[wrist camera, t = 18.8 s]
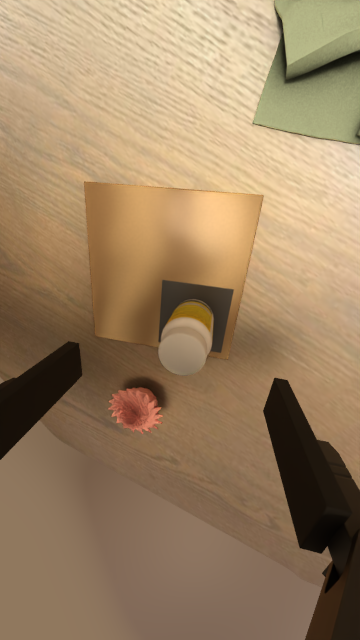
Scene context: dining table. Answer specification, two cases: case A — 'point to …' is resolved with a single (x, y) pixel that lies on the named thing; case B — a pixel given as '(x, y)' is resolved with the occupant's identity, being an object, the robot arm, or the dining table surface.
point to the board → (167, 257)
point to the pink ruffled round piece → (136, 409)
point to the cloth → (315, 71)
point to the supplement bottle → (187, 338)
